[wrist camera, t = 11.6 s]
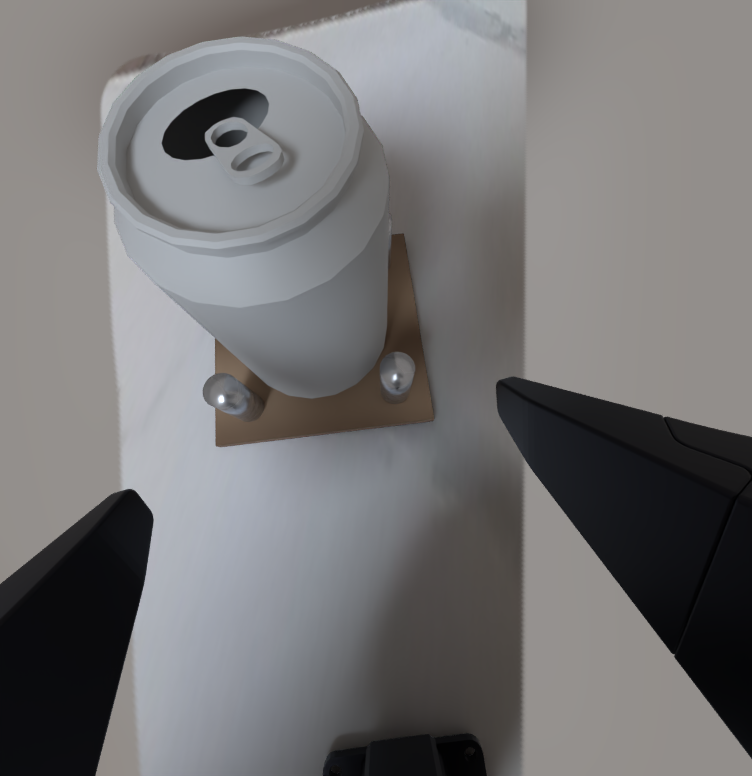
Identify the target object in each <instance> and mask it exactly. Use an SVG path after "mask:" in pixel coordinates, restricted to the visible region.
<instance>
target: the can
mask: <svg viewBox="0 0 752 776" xmlns="http://www.w3.org/2000/svg"><path fill="white" fill-rule="evenodd" d="M97 171H98V173H99V176H100V178H101V181H102V183H103V186H104V188H105V191H106V193H107V196H108V198H109V201H110V202H111V204H112V205H113V206H114V223H115V225H116V228H117V230H118V233H119V235H120V238H121V241H122V243H123V246H124V248H125V251H126V253H127V256H128V257H129V258H130V259H131V260H132V261H133V262H134V263H135V264H136V265H137V266H138V267H139V268H140V269H141V270H142V271H143V272H144V273H145V274H146V275H147V276H148V277H149V278H150V279H151V280H152V281H153V282H154V283H155V284H156V285H157V286H158V287H159V288H160V289H161V290H162V291H163V292H164V293H166V294H167V295H168V296H169V297H170V298H171V299H172V300H173V301H174V302H176V303H177V304H178V305H179V306H180V307H181V308H182V309H183V310H184V311H186V312H187V313H188V314H189V315H190V316H191V317H192V318H193V319H195V320H196V321H197V322H198V323H199V324H200V325H201V326H202V327H203V328H205V329H206V330H207V331H208V332H209V333H210V334H211V335H212V336H213V337H215V338H216V339H217V340H218V341H219V342H220V343H221V344H222V345H223V346H225V347H226V348H227V349H228V350H229V351H230V352H231V353H232V354H233V355H235V356H236V357H237V358H238V359H239V360H240V361H241V362H242V363H243V364H245V365H246V366H247V367H248V368H249V369H250V370H251V371H252V372H253V373H255V374H256V375H257V376H258V377H259V378H260V379H261V380H262V381H263V382H265V383H266V384H267V385H268V386H270V387H272V388H274V389H276V390H278V391H280V392H282V393H284V394H286V395H288V396H295V397H303V398H310V399H313V398H319V397H325V396H331V395H336V394H338V393H340V392H342V391H344V390H346V389H348V388H350V387H352V386H354V385H356V384H357V383H358V382H359V381H360V380H361V379H362V378H363V377H364V376H365V375H366V374H367V373H368V372H369V371H370V370H372V369H373V368H374V366H375V364H376V362H377V360H378V358H379V356H380V354H381V352H382V350H383V348H384V343H385V336H386V330H387V298H388V243H389V188H390V178H389V173H388V169H387V164H386V160H385V156H384V151H383V147H382V144H381V143H380V141H379V140H378V138H377V137H376V135H375V134H374V132H373V131H372V129H371V128H370V126H369V125H368V123H367V122H366V120H365V119H364V117H363V116H361V114H360V109H359V105H358V100H357V97H356V96H355V95H354V93H353V92H352V90H351V89H350V87H349V86H348V84H347V83H346V81H345V80H344V78H343V77H342V76H341V74H340V73H339V72H338V71H337V70H335V69H334V68H333V67H331V66H330V65H329V64H327V63H326V62H324V61H323V60H322V59H320V58H319V57H317V56H316V55H315V54H313V53H312V52H310V51H308V50H305V49H302V48H299V47H296V46H293V45H290V44H287V43H285V42H282V41H279V40H275V39H262V38H250V37H234V38H227V39H220V40H213V41H207V42H201V43H199V44H196V45H194V46H191V47H188V48H186V49H183V50H180V51H178V52H175V53H172V54H170V55H167V56H166V57H164V58H163V59H161V60H160V61H158V62H157V63H155V64H154V65H152V66H151V67H149V68H148V69H146V70H145V71H143V72H142V73H141V74H139V75H138V76H136V77H135V78H134V80H133V81H132V82H131V83H130V84H129V85H128V86H127V88H126V89H125V90H124V91H123V92H122V93H121V94H120V96H119V97H118V98H117V99H116V100H115V101H114V103H113V104H112V107H111V109H110V111H109V114H108V116H107V118H106V121H105V123H104V125H103V128H102V130H101V132H100V135H99V139H98V166H97Z"/></svg>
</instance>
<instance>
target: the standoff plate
mask: <svg viewBox="0 0 752 776" xmlns="http://www.w3.org/2000/svg"><path fill="white" fill-rule="evenodd" d="M391 234H392V217H391V214H390V213H389V243H388V298H387V330H386V336H385V343H384V348H383V350H382V352H381V354H380V356H379V358H378V360H377V362H376V364H375V366H374V368H373V369H372V370H370V371H369V372H368V373H367V374H366V375H365V376H364V377H363V378H362V379H361V380H360V381H359V382H358V383H357V384H356V385H354V386H352V387H350V388H348V389H346V390H344V391H342V392H340V393H338V394H336V395H331V396H325V397H319V398H313V399H310V398H303V397H295V396H288V395H286V394H284V393H282V392H280V391H278V390H276V389H274V388H272V387H270V386H268V385H267V384H266V383H265V382H263V381H262V380H261V379H260V378H259V377H258V376H257V375H256V374H255V373H253V372H252V371H251V370H250V369H249V368H248V367H247V366H246V365H245V364H243V363H242V362H241V361H240V360H239V359H238V358H237V357H236V356H235V355H233V354H232V353H231V352H230V351H229V350H228V349H227V348H226V347H225V346H223V345H222V344H221V343H220V342H219V341H218V340H217V339H216V338H215V375H213V376H211V377H210V378H209V379H208V380H207V381H206V383H205V385H204V387H203V397H204V399H205V401H206V402H207V403H208V404H209V405H211V406H213V407H215V416H216V446H218V447H227V446H235V445H243V444H251V443H259V442H267V441H275V440H284V439H292V438H300V437H308V436H316V435H324V434H332V433H341V432H349V431H357V430H365V429H373V428H381V427H389V426H397V425H406V424H414V423H422V422H430V421H433V420H434V414H433V408H432V402H431V396H430V390H429V384H428V378H427V372H426V366H425V360H424V354H423V348H422V342H421V335H420V329H419V323H418V317H417V311H416V305H415V299H414V293H413V287H412V281H411V275H410V269H409V263H408V256H407V250H406V244H405V238H404V234H395V235H391Z"/></svg>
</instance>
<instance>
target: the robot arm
mask: <svg viewBox="0 0 752 776" xmlns="http://www.w3.org/2000/svg"><path fill="white" fill-rule="evenodd" d="M496 394H497V409H498V413H499V416H500V418H501V420H502V421H503V423H504V425H505V426H506V428H507V430H508V431H509V433H510V435H511V437H512V438H513V440H514V442H515V443H516V445H517V447H518V448H519V450H520V452H521V453H522V455H523V457H524V458H525V460H526V462H527V463H528V465H529V466H530V468H531V469H532V470H533V472H534V473H535V475H536V476H537V477H538V478H539V480H540V481H541V482H542V484H543V485H544V486H545V488H546V489H547V490H548V492H549V493H550V494H551V496H552V497H553V498H554V499H555V501H556V502H557V503H558V505H559V506H560V507H561V508H562V510H563V511H564V512H565V514H566V515H567V516H568V518H569V519H570V520H571V522H572V523H573V524H574V526H575V527H576V528H577V530H578V531H579V532H580V534H581V535H582V536H583V538H584V539H585V540H586V541H587V543H588V544H589V545H590V547H591V548H592V549H593V550H594V552H595V553H596V555H597V556H598V557H599V558H600V560H601V561H602V562H603V564H604V565H605V566H606V568H607V569H608V570H609V572H610V573H611V574H612V576H613V577H614V578H615V580H616V581H617V582H618V583H619V584H620V586H621V587H622V588H623V590H624V591H625V593H626V594H627V595H628V597H629V598H630V599H631V600H632V602H633V603H634V604H635V606H636V607H637V608H638V610H639V611H640V612H641V614H642V615H643V616H644V618H645V619H646V620H647V621H648V623H649V624H650V625H651V627H652V628H653V629H654V631H655V632H656V633H657V635H658V636H659V637H660V639H661V640H662V641H663V642H664V644H665V645H666V646H667V648H668V649H669V650H670V652H671V653H672V654H675V656H674V657H675V659H676V660H677V661H678V663H679V664H680V665H681V667H682V668H683V669H684V670H685V672H686V673H687V674H688V676H689V677H690V678H691V680H692V681H693V682H694V683H695V685H696V686H697V688H698V689H699V690H700V691H701V693H702V694H703V695H704V697H705V698H706V699H707V701H708V702H709V703H710V705H711V706H712V707H713V708H714V710H715V711H716V712H717V713H718V715H719V716H720V718H721V719H722V720H723V722H724V723H725V724H726V726H727V727H728V728H729V730H730V731H731V732H732V733H733V735H734V736H735V737H736V738H737V740H738V741H739V743H740V744H741V745H742V747H743V748H744V749H745V751H746V752H747V753H748V755H749V756H750V757H751V758H752V437H750V436H745V435H740V434H735V433H731V432H727V431H722V430H718V429H714V428H709V427H705V426H701V425H697V424H693V423H689V422H685V421H682V420H678V419H674V418H670V417H664V418H663V416H662V415H659V414H655V413H651V412H647V411H643V410H640V409H636V408H632V407H628V406H624V405H621V404H617V403H613V402H609V401H605V400H601V399H598V398H594V397H590V396H586V395H582V394H579V393H574V392H571V391H567V390H563V389H559V388H556V387H552V386H548V385H544V384H541V383H537V382H532V381H529V380H525V379H521V378H518V377H508V378H505V379H502V380H499V381H498V382H497V384H496ZM152 529H153V514H152V512H151V510H150V509H149V508H148V506H147V505H146V504H145V503H144V501H143V500H142V499H141V497H140V496H139V495H138V493H137V492H136V491H134V490H132V489H127V490H123V491H120V492H117V493H113V494H111V495H110V496H109V497H107V498H106V499H105V500H104V501H102V502H101V503H100V504H99V505H98V506H96V507H95V508H94V509H93V510H91V511H90V512H89V513H88V514H86V515H85V516H84V517H83V518H81V519H80V520H79V521H78V522H77V523H75V524H74V525H73V526H71V527H70V528H69V529H68V530H67V531H65V532H64V533H63V534H62V535H60V536H59V537H58V538H57V539H56V540H54V541H53V542H52V543H50V544H49V545H48V546H47V547H46V548H44V549H43V550H42V551H41V552H40V553H38V554H37V555H36V556H34V557H33V558H32V559H31V560H30V561H28V562H27V563H26V564H25V565H23V566H22V567H21V568H20V569H18V570H17V571H16V572H15V573H13V574H12V575H11V576H10V577H8V578H7V579H6V580H5V581H3V582H2V583H1V584H0V776H95V775H96V771H97V767H98V763H99V759H100V755H101V751H102V747H103V743H104V740H105V736H106V732H107V728H108V724H109V720H110V716H111V712H112V708H113V704H114V700H115V697H116V692H117V689H118V685H119V681H120V677H121V673H122V669H123V665H124V661H125V658H126V654H127V650H128V645H129V642H130V638H131V634H132V630H133V626H134V622H135V618H136V615H137V611H138V607H139V603H140V599H141V595H142V591H143V586H144V582H145V576H146V570H147V563H148V556H149V549H150V542H151V536H152ZM468 747H473V748H474V749H475V751H474V753H473V754H472V755H470V756H469V755H466V754H465V750H466V748H468ZM333 765H338V766H339V767H340V768H341V771H340V772H339V773H334V772H333V771H332V770H331V766H333ZM323 776H487V775H486V769H485V763H484V756H483V752H482V749H481V746H480V743H479V741H478V739H477V738H476V737H475V736H474V735H472V734H467V733H466V734H459V735H451V736H444V737H436V738H433V737H432V736H430V735H429V734H425V735H417V736H410V737H402V738H395V739H387V740H380V741H373V742H371V743H370V744H369V746H368V747H361V748H353V749H346V750H338V751H334V752H331V753H330V754H329V755H328V756H327V758H326V760H325V764H324V769H323Z"/></svg>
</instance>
